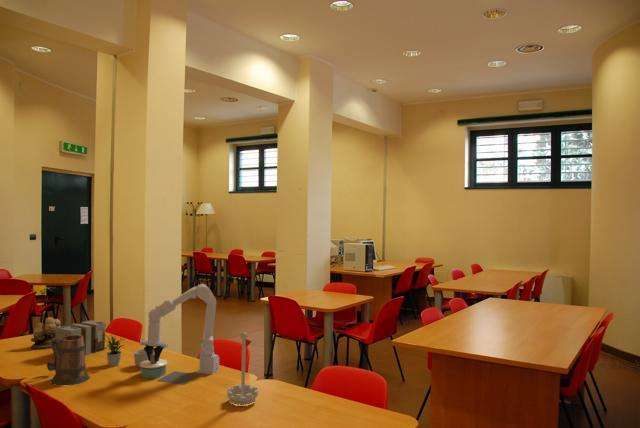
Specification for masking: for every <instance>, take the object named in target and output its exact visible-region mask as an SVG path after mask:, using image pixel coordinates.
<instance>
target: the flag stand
mask: <svg viewBox="0 0 640 428" xmlns="http://www.w3.org/2000/svg"><path fill="white" fill-rule="evenodd" d="M240 338H241V339H242V340H241V343H242V344H241V371H240V372H241V373H240V374H241V376H240V378H241V379H240V384H234V385H233V387H231V386H230V387H228V388H227V393H226V394H227V395H226V397H227V398H228V399H229V403H230V402H231V403H234V404H238V405H239V404H240V405H244V404H245V405H246V404H250V403H252V402H254V401H255V402H256V398H257V397H258V395H259V390H258V387H257V386H256V385H254V386H252V387H251V384H245V383H246V381H245V379H246V352H247V351H246V348H247V347H248V346H249V345H250V344H251V343H252V341H251V340H249V339H247V338H248V333H247V332H245V331H243V332H241V333H240Z"/></svg>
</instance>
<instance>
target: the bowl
mask: <svg viewBox="0 0 640 428" xmlns="http://www.w3.org/2000/svg"><path fill="white" fill-rule="evenodd" d="M166 372H167V365H165V366H163V367H159V368H142V367H141V368H140V376H141V377H142V378H145V379H158V378H162V377H164V376H166V374H167V373H166Z"/></svg>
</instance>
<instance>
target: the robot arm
mask: <svg viewBox="0 0 640 428" xmlns="http://www.w3.org/2000/svg"><path fill="white" fill-rule="evenodd" d="M197 298H199V299H200V300H202V301H203V302H204V303H205V304H206V309H205V318H204V320H205V321H204V329H203V336H202V339H201V341H200V344H199V345H200V347H199V348H200V352H199V365H198V367H199V369H198V370H196V371H195V373H196V374H197V373H198V374H205V375H206V374H207V375H214V374H215V373H217V372H219V371H220V370H221V369H220V356H219V355H218V354H215V352H214V350H215V346H214V328H215V321H216V320H215V319H216V310H217V299H216V297H215V295H214V294H213V292H212V290H211V289H210V287H208V285H206V284H205V283H200V284H198V285H195V286H193V287H191V288H190V289H188V290H187V291H185V292H184V293H182V294H181V295H179V296H177V297H175V298H174V299H172V300H171V299H166V300H163V303H161V304H160V305H158V306H157V305H156V306H154V308H151V309H150V310H149V312H148V327H147V328H148V329H147V331H148V332H147V340H140V342H139V345H140V346H144V347H143V349H144V350H145V351H146V353H147V356H148V360H149V361H150V355H151V354H153V349H154V353H155V362H158V361H159V359H160V356H161V354H162V352H163V350H164V349H168V347H169V343H167V342H164V341H161V327H162V326H161V320H162V319H161V318H162V317H165V316H167V315H168V314H170V313H172V312H173V311H175V309H176V307H177V306H179V305H180V304H182V303H184V302H186V301H187V300H189V299H197Z"/></svg>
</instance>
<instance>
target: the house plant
mask: <svg viewBox="0 0 640 428" xmlns="http://www.w3.org/2000/svg"><path fill="white" fill-rule="evenodd" d="M110 336H111V339H110V337H109V336H108V335H107V334H105V337H106V338H107V339H105V348H103V351H104V349H105V350H107V348H108V349H109V350H110V351H109V350H108V352H107V353H106V357H107V365H108V367H118V366H119V365H120V361H121V357H122V351H121V350H122V349H123V347H126V346H125V345H124V344H122V345H121V343H122V342H123V341H124V340H125V339H126V338H128V336H127V337H125V338H123V336H122V337H121V338H120V339H118V340H116V337H115V336H114V335H113V334H111V335H110ZM122 338H123V339H122ZM99 339H102V338H99ZM106 343H107V344H106Z"/></svg>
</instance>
